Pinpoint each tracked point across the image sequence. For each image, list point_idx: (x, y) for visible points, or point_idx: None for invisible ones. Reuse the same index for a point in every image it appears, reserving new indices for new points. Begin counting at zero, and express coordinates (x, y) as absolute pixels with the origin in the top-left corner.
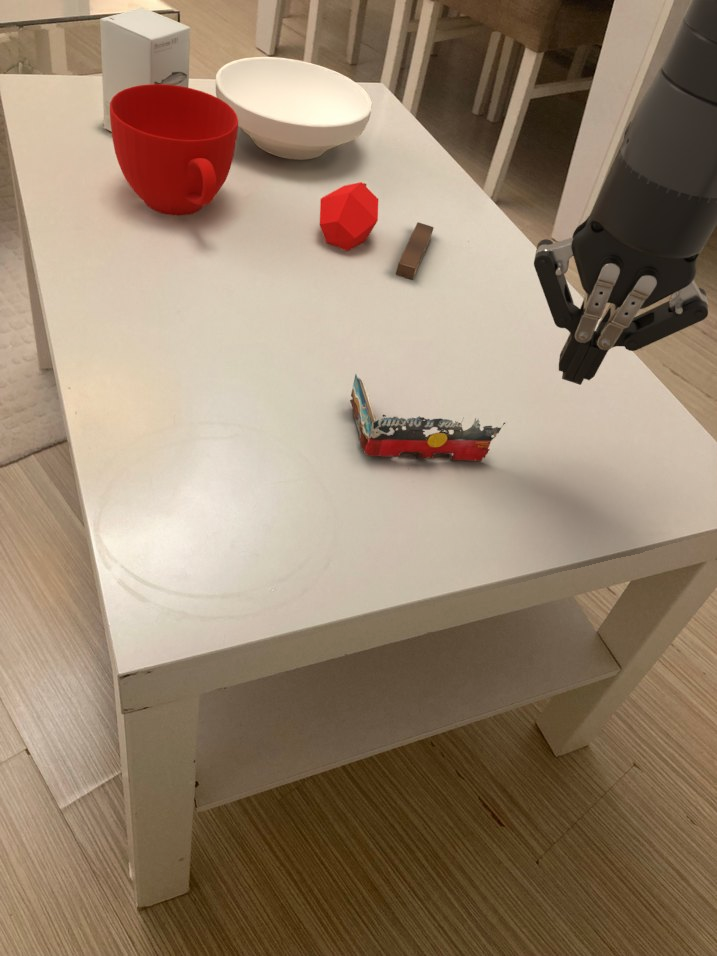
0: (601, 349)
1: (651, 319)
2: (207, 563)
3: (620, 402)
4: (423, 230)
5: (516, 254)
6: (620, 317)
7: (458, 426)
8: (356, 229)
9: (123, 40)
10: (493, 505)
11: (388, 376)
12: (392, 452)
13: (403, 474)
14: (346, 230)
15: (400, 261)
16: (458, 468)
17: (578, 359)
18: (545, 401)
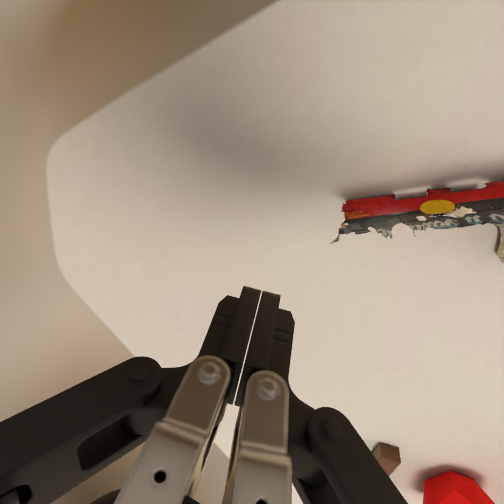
0: (213, 357)
1: (91, 446)
2: None
3: (156, 314)
4: None
5: None
6: (178, 460)
7: (414, 225)
8: (455, 501)
9: None
10: (340, 119)
11: (449, 320)
12: (501, 184)
13: (478, 154)
14: (468, 499)
15: (398, 464)
16: (382, 182)
17: (261, 332)
18: None
